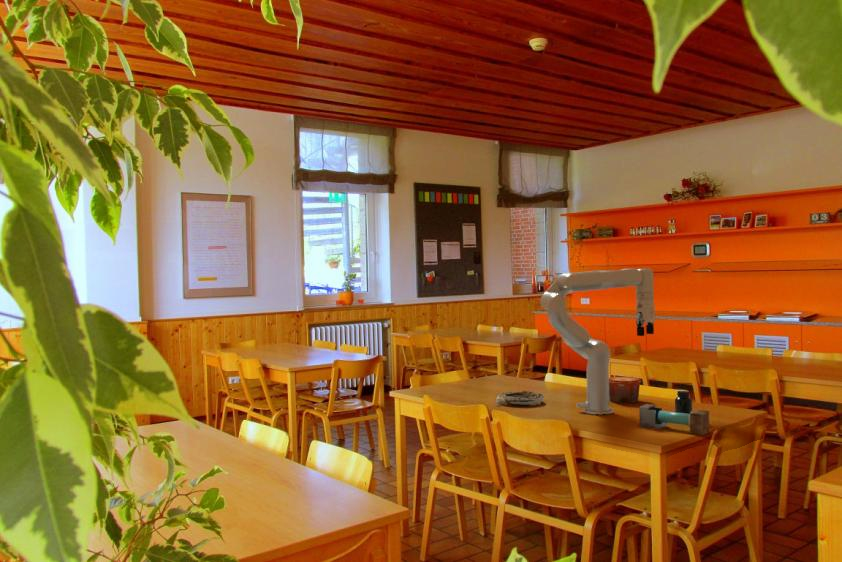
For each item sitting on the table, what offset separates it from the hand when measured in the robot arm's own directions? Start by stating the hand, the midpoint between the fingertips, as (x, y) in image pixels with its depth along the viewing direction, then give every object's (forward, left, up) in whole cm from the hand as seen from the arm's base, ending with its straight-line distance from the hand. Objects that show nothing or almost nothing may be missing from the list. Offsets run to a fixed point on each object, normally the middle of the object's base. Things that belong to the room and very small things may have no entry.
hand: (645, 334), depth 317 cm
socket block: (+10, -44, -33) cm, 56 cm away
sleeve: (-5, -34, -33) cm, 48 cm away
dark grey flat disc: (-54, +18, -34) cm, 66 cm away
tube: (+4, -40, -32) cm, 51 cm away
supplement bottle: (+10, -22, -34) cm, 41 cm away
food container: (-6, +20, -34) cm, 40 cm away
